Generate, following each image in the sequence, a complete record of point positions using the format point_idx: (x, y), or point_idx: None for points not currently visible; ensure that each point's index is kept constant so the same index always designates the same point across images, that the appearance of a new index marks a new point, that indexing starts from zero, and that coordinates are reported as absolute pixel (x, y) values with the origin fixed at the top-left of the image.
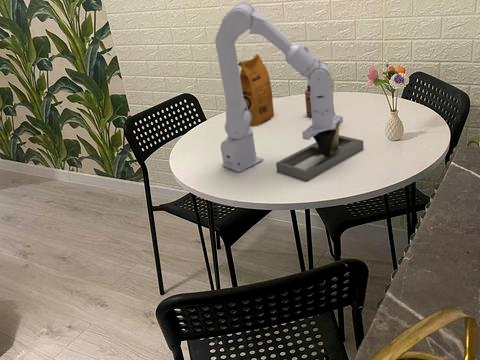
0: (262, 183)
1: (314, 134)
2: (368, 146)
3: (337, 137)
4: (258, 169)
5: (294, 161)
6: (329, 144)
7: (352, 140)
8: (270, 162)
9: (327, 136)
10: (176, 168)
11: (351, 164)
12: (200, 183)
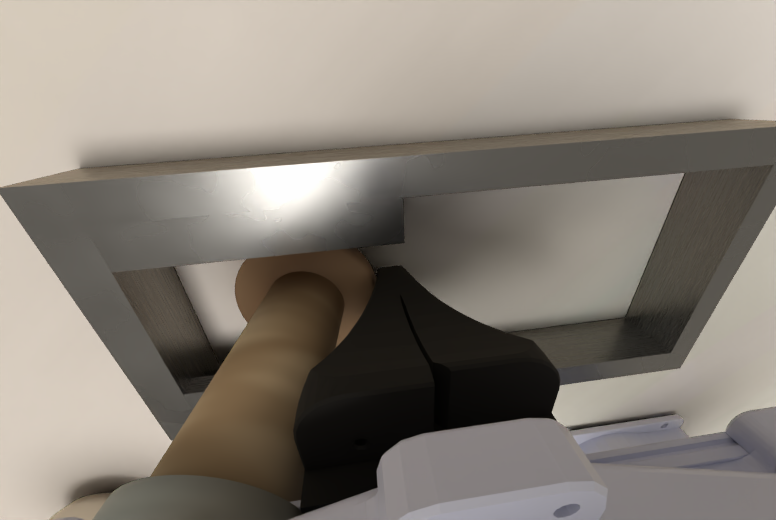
0: (766, 290)
1: (645, 464)
2: (5, 174)
3: (259, 343)
4: (633, 391)
5: (551, 341)
6: (396, 304)
7: (106, 273)
8: (558, 406)
9: (519, 352)
10: None
11: (360, 29)
12: None
